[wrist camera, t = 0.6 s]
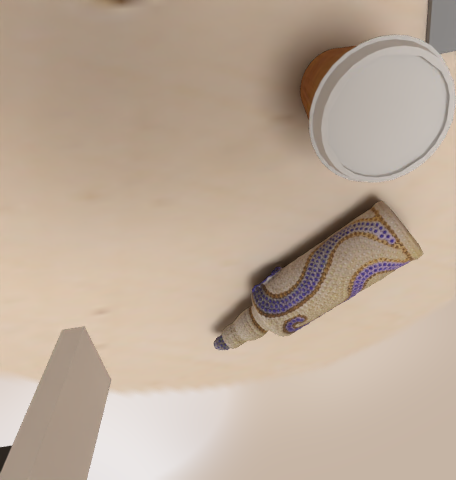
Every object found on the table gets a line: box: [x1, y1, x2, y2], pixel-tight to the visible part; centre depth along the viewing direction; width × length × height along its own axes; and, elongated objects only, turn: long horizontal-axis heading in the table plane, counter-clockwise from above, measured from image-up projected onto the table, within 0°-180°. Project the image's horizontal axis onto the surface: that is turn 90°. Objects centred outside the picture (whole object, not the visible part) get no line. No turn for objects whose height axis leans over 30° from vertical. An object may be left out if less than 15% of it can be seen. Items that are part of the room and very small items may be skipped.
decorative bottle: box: [214, 201, 423, 350], centre depth 43 cm, size 26×8×7 cm, turn 130°
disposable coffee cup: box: [300, 35, 456, 182], centre depth 30 cm, size 10×10×12 cm
